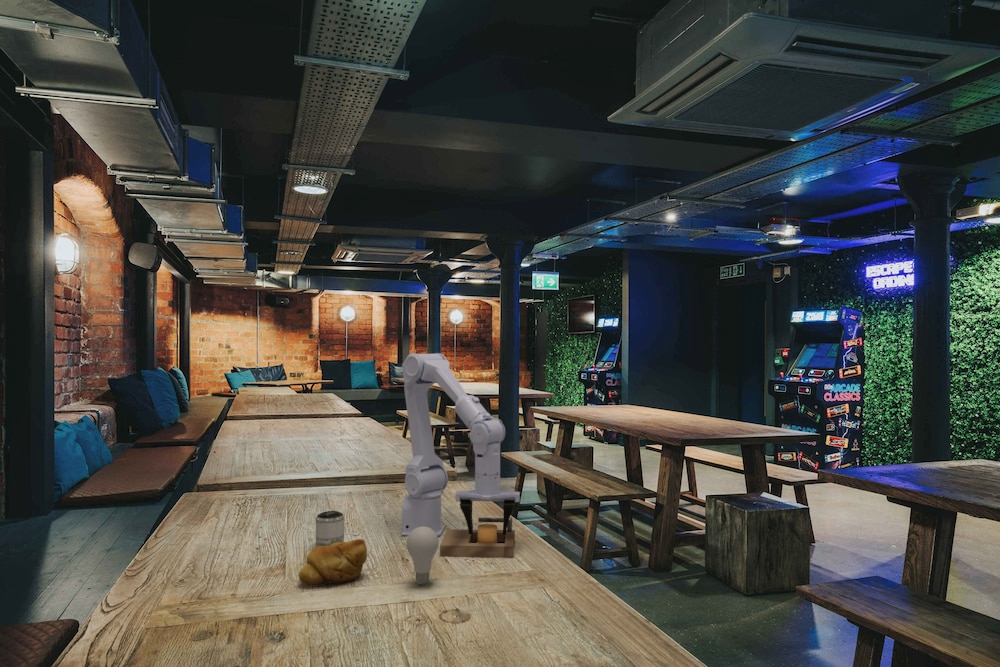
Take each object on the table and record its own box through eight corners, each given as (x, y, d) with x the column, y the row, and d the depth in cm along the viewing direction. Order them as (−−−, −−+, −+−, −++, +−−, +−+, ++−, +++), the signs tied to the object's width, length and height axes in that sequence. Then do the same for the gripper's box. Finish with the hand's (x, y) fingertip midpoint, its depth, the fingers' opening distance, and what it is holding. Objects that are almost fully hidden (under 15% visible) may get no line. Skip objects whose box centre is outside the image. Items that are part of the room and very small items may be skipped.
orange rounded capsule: (475, 551, 138) (475, 529, 138) (479, 545, 142) (479, 523, 142) (495, 552, 137) (495, 529, 137) (498, 546, 142) (498, 524, 142)
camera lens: (349, 547, 141) (349, 512, 141) (325, 554, 136) (325, 518, 137) (334, 541, 145) (334, 507, 145) (310, 547, 141) (310, 513, 141)
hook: (478, 542, 145) (478, 518, 145) (478, 540, 146) (478, 517, 146) (512, 542, 144) (512, 518, 144) (512, 540, 145) (512, 517, 145)
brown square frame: (439, 556, 135) (439, 545, 135) (447, 539, 147) (447, 529, 147) (513, 557, 134) (513, 546, 134) (514, 540, 146) (514, 530, 146)
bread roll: (303, 594, 114) (303, 550, 114) (292, 577, 123) (292, 537, 123) (370, 581, 121) (371, 540, 121) (356, 566, 129) (356, 527, 129)
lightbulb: (443, 580, 121) (443, 524, 121) (430, 592, 115) (430, 532, 115) (415, 577, 123) (415, 521, 123) (400, 588, 117) (400, 529, 117)
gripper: (453, 476, 137) (453, 538, 136) (519, 476, 136) (519, 539, 136) (457, 470, 144) (457, 528, 144) (519, 470, 143) (519, 529, 143)
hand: (487, 533), depth 140 cm, fingers open, 7 cm apart
